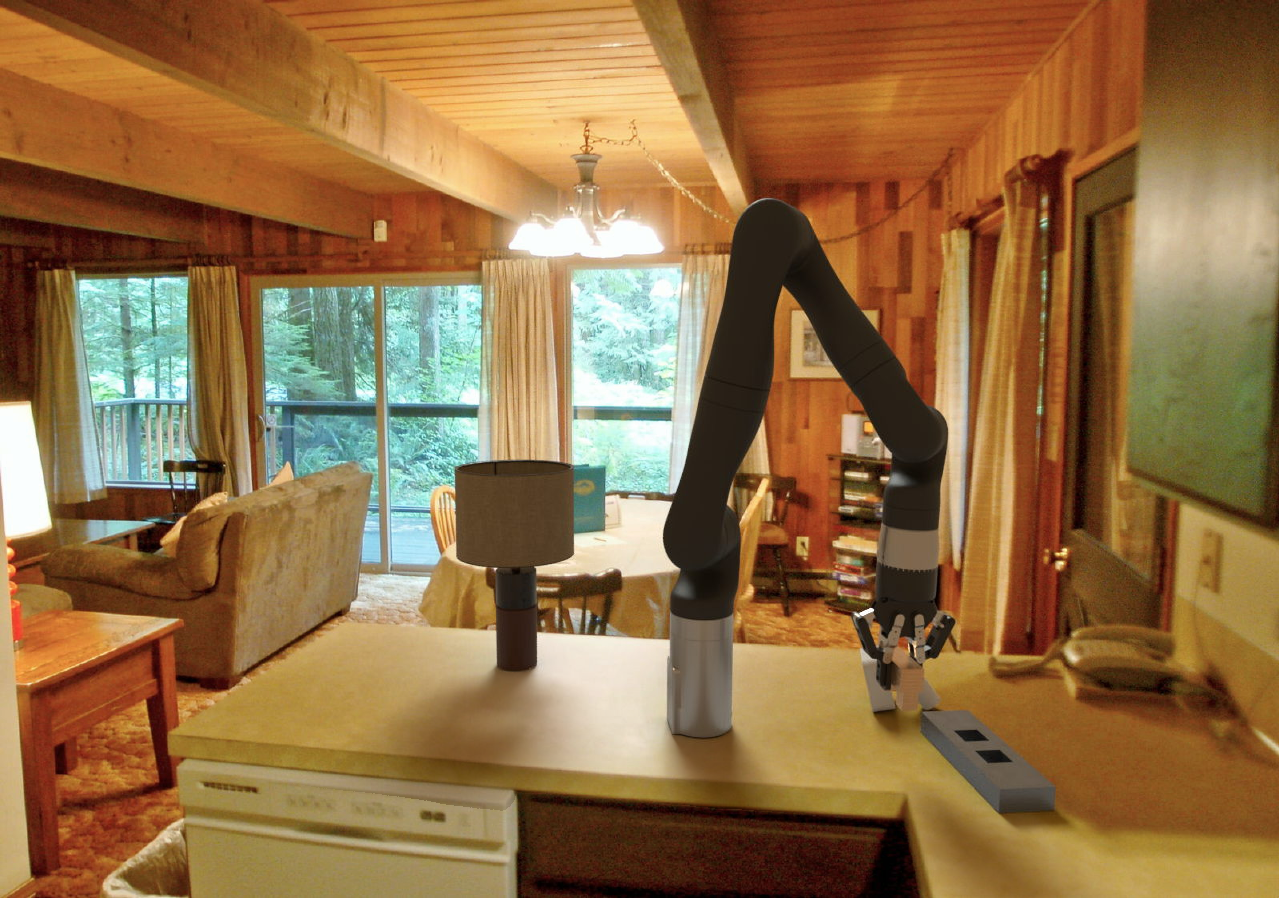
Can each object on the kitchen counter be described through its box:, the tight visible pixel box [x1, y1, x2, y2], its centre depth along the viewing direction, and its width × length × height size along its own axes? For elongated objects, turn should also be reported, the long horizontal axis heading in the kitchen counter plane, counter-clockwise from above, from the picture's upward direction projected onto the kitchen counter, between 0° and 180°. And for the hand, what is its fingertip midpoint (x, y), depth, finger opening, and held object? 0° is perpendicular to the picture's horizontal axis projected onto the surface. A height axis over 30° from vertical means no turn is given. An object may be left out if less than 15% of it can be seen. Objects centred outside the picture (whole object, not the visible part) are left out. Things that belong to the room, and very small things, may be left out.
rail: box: [920, 709, 1057, 814], centre depth 112 cm, size 22×7×3 cm, turn 5°
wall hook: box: [859, 645, 941, 713], centre depth 131 cm, size 8×10×10 cm
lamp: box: [454, 459, 575, 672], centre depth 147 cm, size 20×20×35 cm
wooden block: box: [876, 646, 925, 712], centre depth 111 cm, size 8×3×6 cm, turn 6°
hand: (898, 687), depth 111 cm, fingers closed on wooden block, 3 cm apart
